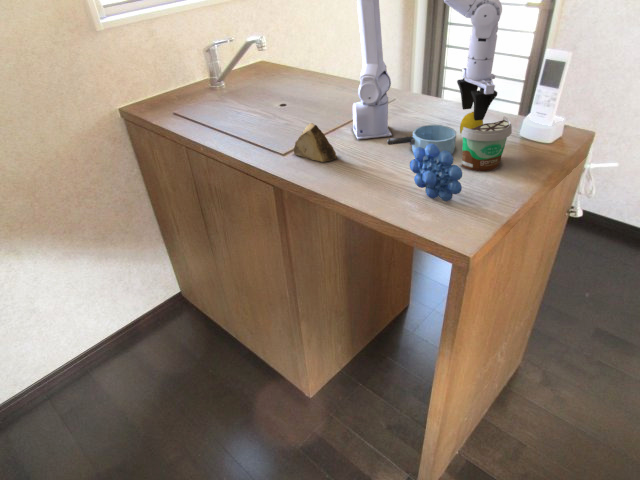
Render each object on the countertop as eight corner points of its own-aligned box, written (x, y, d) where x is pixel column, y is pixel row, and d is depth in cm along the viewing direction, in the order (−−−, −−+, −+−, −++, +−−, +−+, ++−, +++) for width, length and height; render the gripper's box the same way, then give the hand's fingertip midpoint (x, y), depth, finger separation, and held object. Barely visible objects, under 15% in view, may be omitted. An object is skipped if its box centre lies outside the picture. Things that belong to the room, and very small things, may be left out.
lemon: (481, 146, 112) (486, 115, 108) (458, 146, 114) (462, 115, 109) (479, 137, 117) (484, 107, 112) (457, 137, 118) (461, 107, 113)
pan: (418, 160, 109) (420, 143, 106) (407, 143, 117) (408, 127, 114) (460, 156, 109) (462, 138, 106) (446, 139, 118) (447, 122, 115)
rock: (281, 148, 114) (298, 156, 106) (294, 116, 113) (313, 123, 105) (314, 163, 121) (332, 172, 113) (327, 133, 119) (347, 140, 111)
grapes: (398, 199, 95) (400, 147, 88) (413, 186, 99) (417, 135, 92) (449, 215, 89) (456, 160, 81) (464, 200, 93) (471, 146, 86)
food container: (473, 178, 100) (480, 136, 94) (456, 168, 104) (461, 127, 98) (517, 165, 103) (526, 124, 97) (498, 155, 108) (505, 115, 102)
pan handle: (413, 141, 112) (414, 134, 111) (415, 144, 111) (416, 137, 110) (386, 144, 112) (386, 137, 111) (387, 147, 110) (387, 140, 109)
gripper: (512, 63, 97) (500, 123, 105) (484, 47, 109) (476, 102, 117) (480, 66, 97) (471, 126, 105) (456, 50, 109) (450, 105, 117)
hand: (472, 114), depth 111 cm, fingers open, 7 cm apart
